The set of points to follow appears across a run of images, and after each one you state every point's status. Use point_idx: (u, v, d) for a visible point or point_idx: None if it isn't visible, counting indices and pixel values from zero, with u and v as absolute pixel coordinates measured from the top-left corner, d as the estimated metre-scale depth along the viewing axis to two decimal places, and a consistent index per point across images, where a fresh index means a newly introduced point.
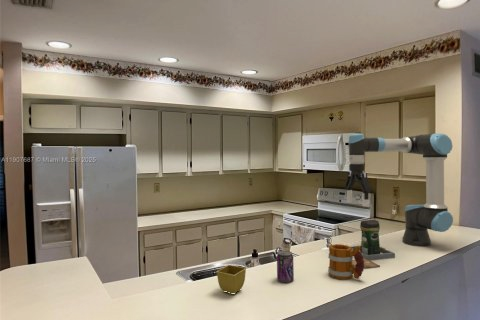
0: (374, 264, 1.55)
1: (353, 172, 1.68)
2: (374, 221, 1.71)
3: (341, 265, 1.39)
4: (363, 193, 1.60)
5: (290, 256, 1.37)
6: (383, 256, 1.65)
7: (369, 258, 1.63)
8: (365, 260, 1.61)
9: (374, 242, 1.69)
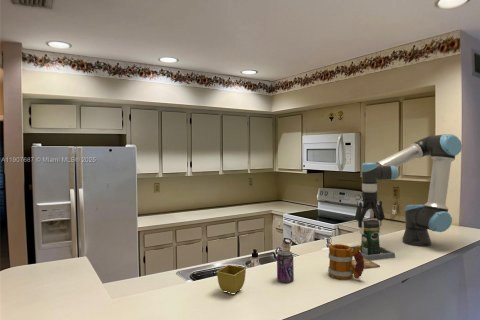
0: (374, 264, 1.55)
1: None
2: (374, 221, 1.71)
3: (341, 265, 1.39)
4: None
5: (290, 256, 1.37)
6: (383, 256, 1.65)
7: (369, 258, 1.63)
8: (365, 260, 1.61)
9: (374, 242, 1.69)
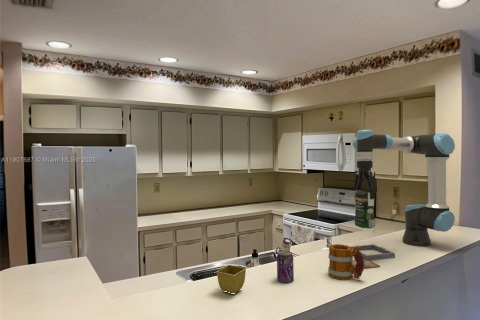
0: (374, 264, 1.55)
1: (360, 169, 1.65)
2: None
3: (341, 265, 1.39)
4: (369, 193, 1.58)
5: (290, 256, 1.37)
6: (383, 256, 1.65)
7: (369, 258, 1.63)
8: (365, 260, 1.61)
9: None
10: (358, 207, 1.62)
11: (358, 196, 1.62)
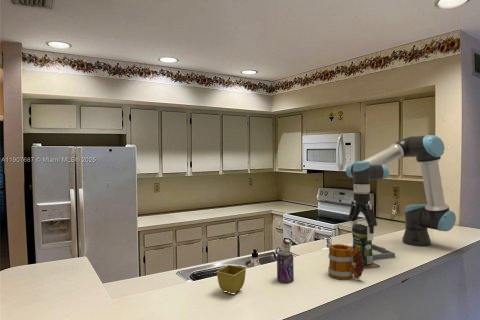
0: (374, 264, 1.55)
1: (358, 201, 1.58)
2: (362, 225, 1.59)
3: (341, 265, 1.39)
4: None
5: (290, 256, 1.37)
6: (383, 256, 1.65)
7: None
8: None
9: None
10: (356, 243, 1.55)
11: (356, 231, 1.55)
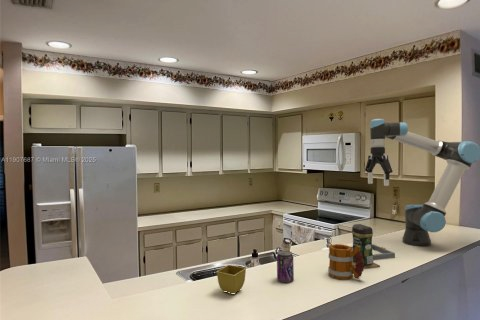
0: (374, 264, 1.55)
1: (374, 155, 1.81)
2: None
3: (341, 265, 1.39)
4: (384, 174, 1.73)
5: (290, 256, 1.37)
6: (383, 256, 1.65)
7: None
8: None
9: None
10: (356, 243, 1.55)
11: (356, 231, 1.55)
